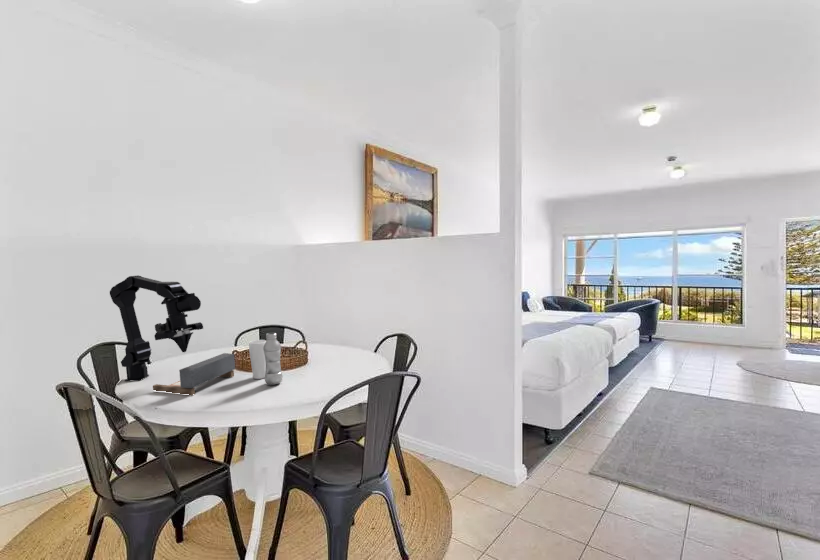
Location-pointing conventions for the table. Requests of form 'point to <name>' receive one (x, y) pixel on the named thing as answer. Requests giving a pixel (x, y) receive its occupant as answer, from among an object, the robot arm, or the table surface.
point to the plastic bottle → (272, 360)
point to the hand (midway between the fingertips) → (184, 352)
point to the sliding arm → (206, 370)
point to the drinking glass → (257, 358)
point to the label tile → (176, 384)
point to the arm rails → (181, 389)
